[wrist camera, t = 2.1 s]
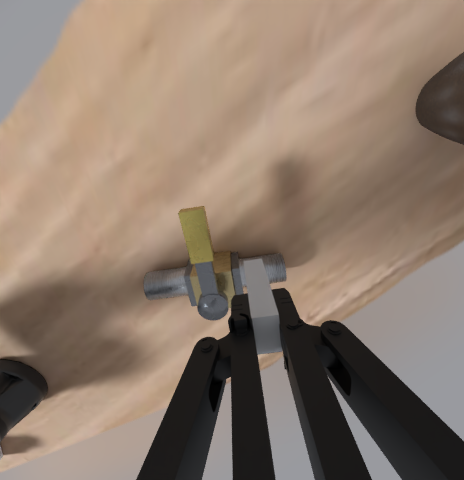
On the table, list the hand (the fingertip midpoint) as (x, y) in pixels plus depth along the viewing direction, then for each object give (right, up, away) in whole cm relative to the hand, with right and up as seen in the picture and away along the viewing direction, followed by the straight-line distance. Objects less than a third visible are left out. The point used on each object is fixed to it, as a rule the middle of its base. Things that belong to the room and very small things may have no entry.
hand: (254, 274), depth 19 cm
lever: (-6, -1, +13) cm, 14 cm away
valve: (-5, -3, +24) cm, 25 cm away
